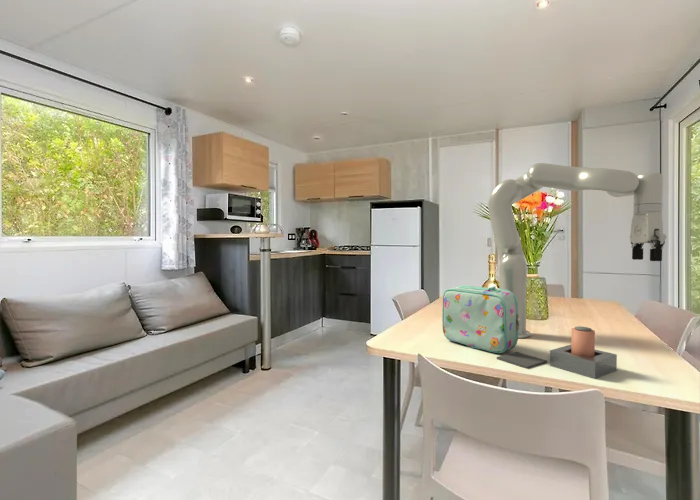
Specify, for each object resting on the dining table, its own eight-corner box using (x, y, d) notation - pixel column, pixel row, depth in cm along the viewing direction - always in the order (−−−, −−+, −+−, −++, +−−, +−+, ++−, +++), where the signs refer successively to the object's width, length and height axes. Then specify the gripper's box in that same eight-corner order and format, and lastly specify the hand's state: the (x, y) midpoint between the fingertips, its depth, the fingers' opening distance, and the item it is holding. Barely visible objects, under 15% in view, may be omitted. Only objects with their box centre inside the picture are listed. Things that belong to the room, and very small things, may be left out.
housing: (549, 365, 106) (550, 350, 106) (572, 358, 112) (572, 344, 112) (594, 378, 95) (595, 361, 95) (616, 370, 102) (616, 354, 102)
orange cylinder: (567, 366, 105) (567, 327, 104) (577, 363, 108) (577, 325, 107) (588, 372, 100) (588, 331, 100) (598, 369, 103) (598, 328, 102)
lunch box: (525, 352, 118) (525, 287, 118) (508, 359, 112) (509, 290, 112) (456, 335, 139) (456, 280, 139) (439, 340, 133) (439, 282, 133)
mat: (496, 358, 112) (496, 357, 112) (516, 353, 117) (516, 351, 117) (527, 368, 103) (527, 366, 103) (547, 362, 108) (547, 360, 108)
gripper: (620, 212, 132) (619, 258, 133) (651, 207, 115) (650, 261, 116) (643, 211, 131) (642, 259, 131) (678, 207, 114) (677, 261, 114)
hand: (646, 260), depth 123 cm, fingers open, 9 cm apart
